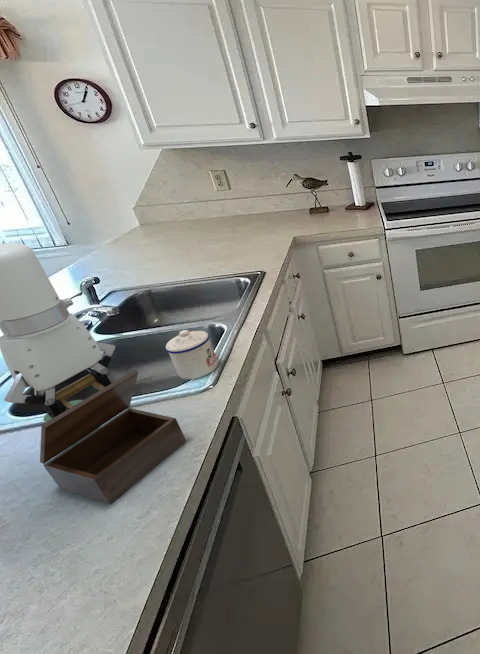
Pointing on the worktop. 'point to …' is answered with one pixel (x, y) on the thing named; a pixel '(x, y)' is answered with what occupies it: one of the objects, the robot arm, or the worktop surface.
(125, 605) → the worktop surface
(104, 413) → the lid
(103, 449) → the chest
